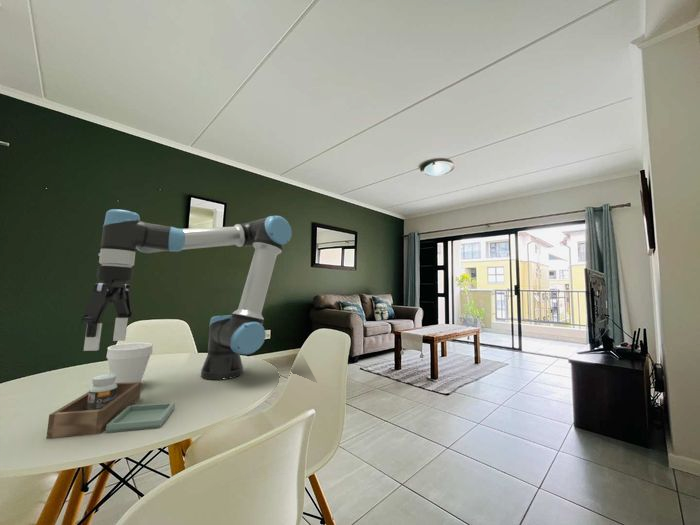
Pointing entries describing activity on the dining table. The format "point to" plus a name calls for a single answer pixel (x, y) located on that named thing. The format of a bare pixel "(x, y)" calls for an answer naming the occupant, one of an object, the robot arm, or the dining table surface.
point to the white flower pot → (129, 361)
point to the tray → (140, 417)
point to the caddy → (91, 413)
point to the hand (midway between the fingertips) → (106, 345)
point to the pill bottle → (102, 391)
